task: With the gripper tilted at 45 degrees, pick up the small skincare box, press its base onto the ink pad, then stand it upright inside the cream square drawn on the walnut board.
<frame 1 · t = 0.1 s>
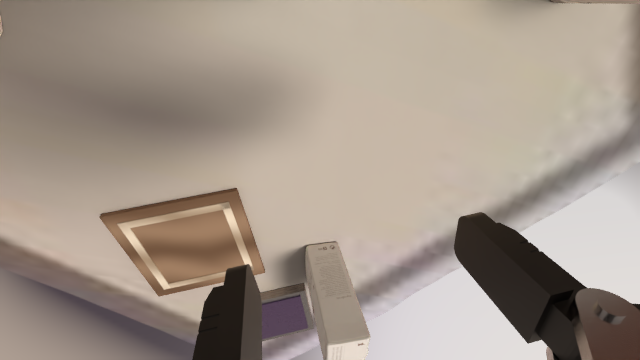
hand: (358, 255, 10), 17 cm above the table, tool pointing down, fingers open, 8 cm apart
ink pad: (275, 311, 40), on the table
marked board: (194, 245, 31), on the table
skincare box: (321, 258, 36), on the table
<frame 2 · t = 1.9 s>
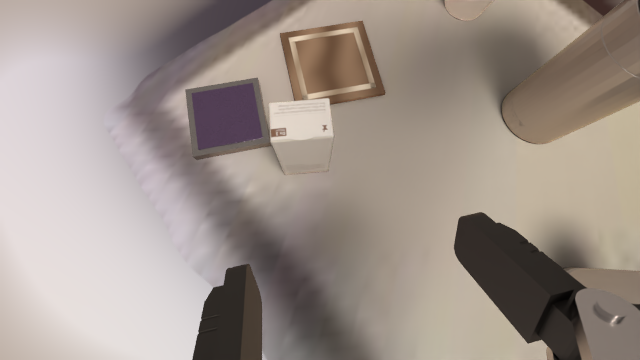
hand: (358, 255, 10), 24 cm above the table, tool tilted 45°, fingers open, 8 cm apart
foam cup: (462, 6, 45), on the table
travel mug: (573, 294, 34), on the table
ink pad: (229, 119, 38), on the table
marked board: (331, 64, 41), on the table
skincare box: (304, 160, 37), on the table
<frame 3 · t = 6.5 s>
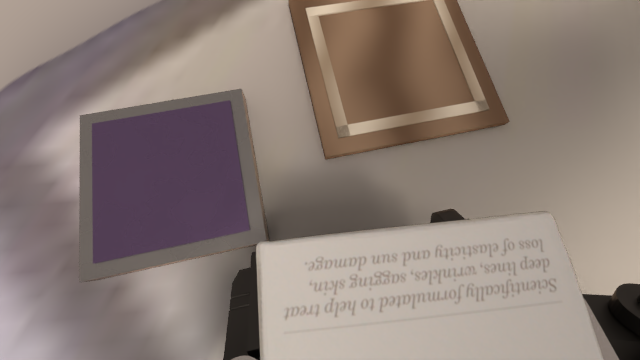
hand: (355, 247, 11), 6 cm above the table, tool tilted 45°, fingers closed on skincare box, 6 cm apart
ink pad: (178, 180, 17), on the table
marked board: (391, 62, 20), on the table
skincare box: (344, 277, 16), on the table, touching gripper
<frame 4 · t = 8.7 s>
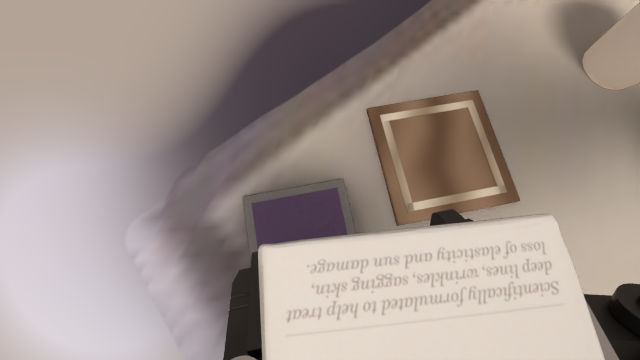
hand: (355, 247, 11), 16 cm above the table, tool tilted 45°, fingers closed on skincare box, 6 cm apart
foam cup: (606, 68, 33), on the table
ink pad: (303, 239, 27), on the table
marked board: (439, 154, 29), on the table
skincare box: (345, 278, 16), point 10 cm above the table, touching gripper
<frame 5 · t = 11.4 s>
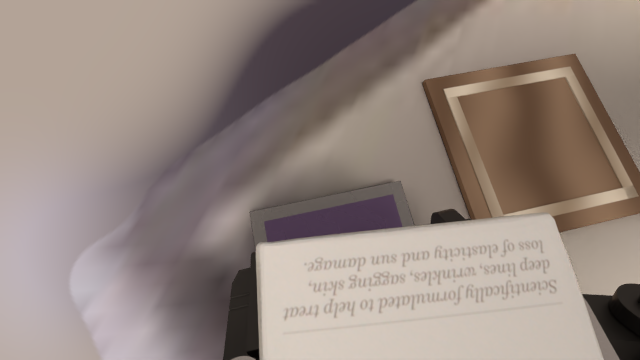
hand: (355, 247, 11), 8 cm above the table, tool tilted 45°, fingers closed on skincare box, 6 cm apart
ink pad: (343, 274, 18), on the table
marked board: (530, 143, 21), on the table
skincare box: (345, 279, 16), point 1 cm above the table, touching gripper, ink pad
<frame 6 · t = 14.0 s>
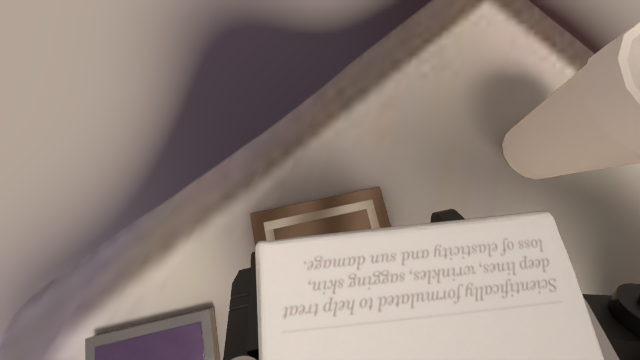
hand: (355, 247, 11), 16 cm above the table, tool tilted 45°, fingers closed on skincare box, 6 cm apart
foam cup: (529, 152, 30), on the table
marked board: (330, 267, 26), on the table
skincare box: (345, 279, 16), point 10 cm above the table, touching gripper
when the fingers open (8 cm above the table, at t = 16.3 s): skincare box drops 1 cm, resting on marked board.
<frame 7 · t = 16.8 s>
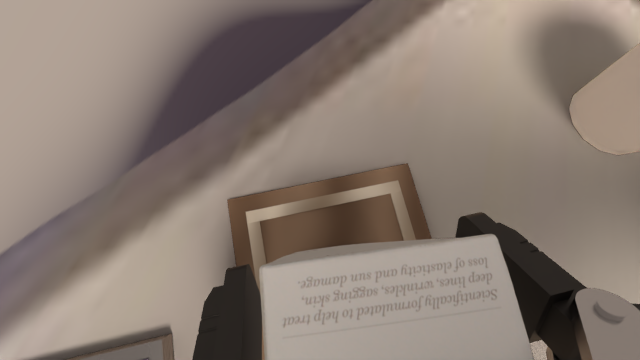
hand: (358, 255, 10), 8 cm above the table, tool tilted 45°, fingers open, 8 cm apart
foam cup: (605, 119, 22), on the table
marked board: (341, 275, 18), on the table
skincare box: (340, 282, 18), resting on marked board
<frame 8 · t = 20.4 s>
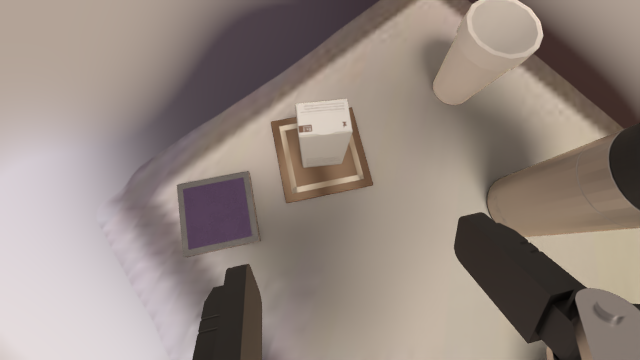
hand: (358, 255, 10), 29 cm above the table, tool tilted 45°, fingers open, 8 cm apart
foam cup: (450, 89, 46), on the table
ink pad: (219, 213, 39), on the table
marked board: (320, 153, 42), on the table
skincare box: (320, 155, 41), resting on marked board
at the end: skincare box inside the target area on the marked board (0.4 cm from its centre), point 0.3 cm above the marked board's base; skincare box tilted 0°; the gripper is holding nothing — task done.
